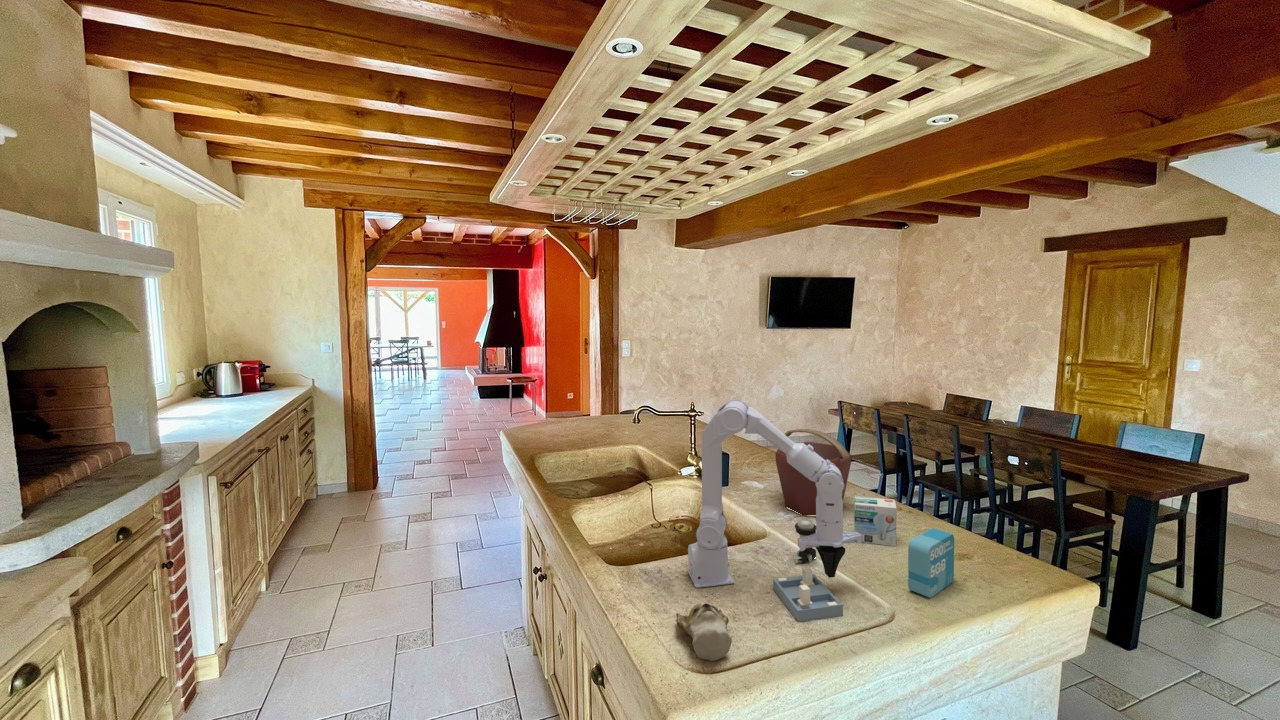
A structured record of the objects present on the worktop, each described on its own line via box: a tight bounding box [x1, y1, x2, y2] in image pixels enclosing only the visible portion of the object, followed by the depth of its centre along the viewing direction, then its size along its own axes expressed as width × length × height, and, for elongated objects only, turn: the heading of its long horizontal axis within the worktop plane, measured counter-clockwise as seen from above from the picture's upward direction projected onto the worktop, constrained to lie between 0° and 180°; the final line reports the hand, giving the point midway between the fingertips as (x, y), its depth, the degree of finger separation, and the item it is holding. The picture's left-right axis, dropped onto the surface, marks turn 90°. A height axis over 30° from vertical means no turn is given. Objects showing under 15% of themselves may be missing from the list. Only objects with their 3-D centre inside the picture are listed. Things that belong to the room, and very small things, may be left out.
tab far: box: [800, 566, 815, 586], centre depth 118 cm, size 3×2×4 cm
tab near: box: [797, 585, 813, 606], centre depth 111 cm, size 3×2×4 cm
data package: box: [907, 527, 955, 599], centre depth 118 cm, size 12×4×12 cm, turn 125°
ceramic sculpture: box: [675, 602, 732, 662], centre depth 102 cm, size 11×9×15 cm
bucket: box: [775, 428, 852, 515], centre depth 167 cm, size 24×22×25 cm
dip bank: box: [772, 573, 844, 623], centre depth 115 cm, size 10×13×2 cm
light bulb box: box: [853, 495, 898, 547], centre depth 143 cm, size 11×7×11 cm, turn 68°
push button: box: [794, 519, 817, 564], centre depth 133 cm, size 7×5×10 cm
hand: (829, 575), depth 119 cm, fingers closed
